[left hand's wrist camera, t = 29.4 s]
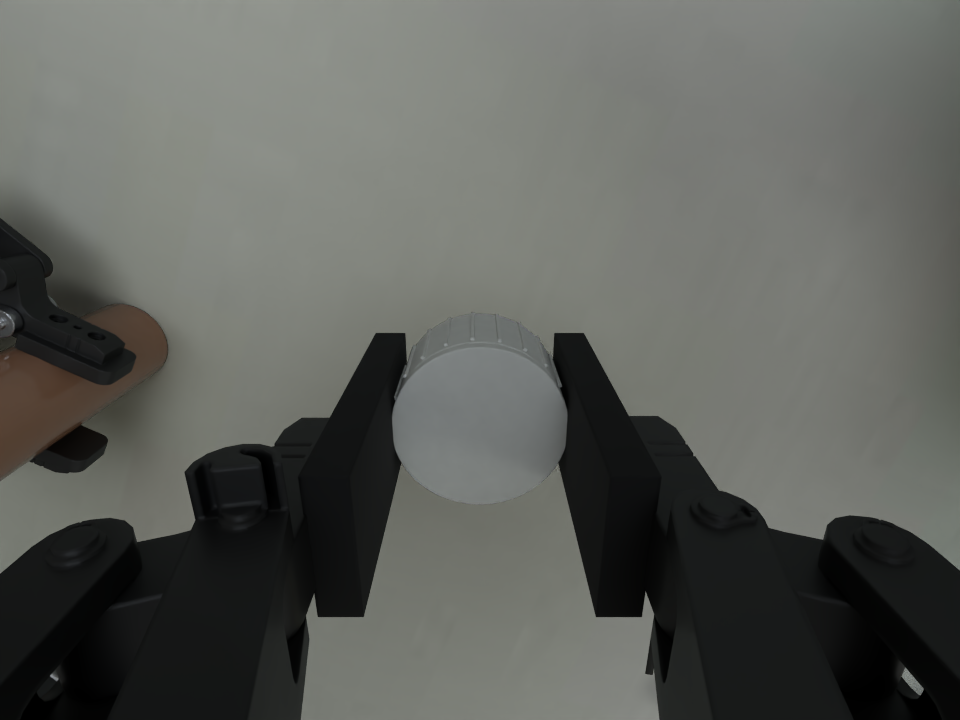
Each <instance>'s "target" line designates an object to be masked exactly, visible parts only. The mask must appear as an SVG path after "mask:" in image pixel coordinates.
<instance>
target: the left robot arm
mask: <svg viewBox="0 0 960 720" xmlns="http://www.w3.org/2000/svg"><path fill="white" fill-rule="evenodd" d="M553 361H554V364H555V367H556V370H557V373H558V376H559V379H560V381H561V384H562V387H560V389H561V392H562V395H563V398H564V401H565V404H566V407H567V411H568V417H567V433H566V446H565V450H564V452H563V454H562V457H561V459H560V461H559V462H558V463H559V468H560V472H561V476H562V480H563V484H564V488H565V492H566V496H567V500H568V504H569V508H570V513H571V517H572V521H573V525H574V529H575V533H576V537H577V541H578V545H579V549H580V553H581V558H582V562H583V566H584V570H585V574H586V578H587V582H588V586H589V590H590V594H591V599H592V603H593V607H594V611H595V615H596V617H642V612H643V605H644V598H645V591H646V593H647V596H648V598H649V601H650V604H651V607H652V609H653V612H654V620H653V627H652V633H651V640H650V646H649V653H648V659H647V666H646V673H645V674H650V675H653V670H654V673H655V682H656V692H657V701H658V710H659V719H660V720H960V570H958V569H957V568H956V567H955V566H954V565H952V564H951V563H950V562H949V561H948V560H947V559H945V558H944V557H943V556H942V555H941V554H939V553H938V552H937V551H936V550H935V549H934V548H932V547H931V546H930V545H929V544H927V543H926V542H924V541H923V540H921V539H920V538H918V537H917V536H916V535H914V534H913V533H911V532H909V531H907V530H904V529H902V528H900V527H898V526H896V525H894V524H892V523H890V522H887V521H883V520H878V519H876V518H871V517H861V516H844V517H839V518H835V519H834V520H833V521H831V522H830V523H829V524H828V525H827V528H826V532H825V535H824V539H823V540H821V539H816V538H811V537H806V536H801V535H796V534H791V533H786V532H782V531H778V530H775V529H771V528H768V526H767V524H766V522H765V519H764V518H763V517H762V515H761V514H760V513H759V511H758V510H757V509H756V508H755V507H753V506H752V505H750V504H749V503H748V502H746V501H745V500H743V499H741V498H739V497H737V496H734V495H732V494H729V493H727V492H723V491H719V490H718V489H717V487H716V486H715V484H714V483H713V481H712V480H711V479H710V477H709V476H708V474H707V473H706V471H705V470H704V468H703V467H702V465H701V464H700V462H699V461H698V460H697V458H696V457H695V456H693V452H692V451H691V449H690V448H689V446H688V445H685V441H684V439H683V438H682V436H681V435H680V433H679V432H678V430H677V429H676V428H675V427H674V426H672V425H671V424H669V423H668V422H666V421H664V420H663V419H661V418H660V417H658V416H629V415H628V414H627V412H626V410H625V408H624V406H623V404H622V403H621V401H620V399H619V397H618V395H617V393H616V392H615V390H614V388H613V386H612V384H611V382H610V381H609V379H608V377H607V375H606V373H605V371H604V370H603V368H602V366H601V364H600V362H599V360H598V358H597V357H596V355H595V353H594V351H593V349H592V347H591V346H590V344H589V342H588V340H587V338H586V336H585V335H584V333H554V350H553ZM405 365H407V357H406V338H405V333H376V334H375V336H374V338H373V339H372V341H371V343H370V345H369V347H368V349H367V350H366V352H365V354H364V356H363V358H362V360H361V361H360V363H359V365H358V367H357V369H356V371H355V372H354V374H353V376H352V378H351V380H350V382H349V383H348V385H347V387H346V389H345V391H344V393H343V395H342V396H341V398H340V400H339V402H338V404H337V406H336V407H335V409H334V411H333V413H332V415H331V417H330V418H301V419H300V420H298V421H297V422H295V423H294V424H292V425H291V426H289V427H288V428H286V429H285V430H284V431H283V432H282V434H281V435H280V436H279V438H278V439H277V441H276V442H275V446H274V447H270V446H266V445H262V444H241V445H235V446H230V447H225V448H222V449H219V450H216V451H214V452H211V453H208V454H206V455H205V456H203V457H201V458H200V459H198V460H196V461H195V462H193V463H192V464H191V465H190V466H189V468H188V469H187V470H186V471H185V476H186V481H187V485H188V489H189V494H190V498H191V502H192V507H193V511H194V515H195V523H194V525H193V527H192V529H191V530H190V531H187V532H183V533H179V534H175V535H170V536H165V537H161V538H156V539H151V540H146V541H141V542H137V540H136V537H135V533H134V530H133V527H132V526H131V525H129V524H128V523H127V522H126V521H124V520H119V519H113V518H105V519H94V520H87V521H82V522H81V523H76V524H72V525H69V526H67V527H66V528H64V529H62V530H59V531H57V532H55V533H53V534H51V535H49V536H47V537H46V538H44V539H43V540H41V541H40V542H38V543H37V544H36V545H34V546H33V547H31V548H30V549H29V550H28V551H27V552H25V553H24V554H23V555H22V556H21V557H19V558H18V559H17V560H16V561H15V562H14V563H12V564H11V565H10V566H9V567H8V568H7V569H5V570H4V571H3V572H2V573H1V574H0V720H301V711H302V702H303V693H304V684H305V674H306V665H307V656H308V647H309V633H308V627H307V620H306V614H307V611H308V608H309V606H310V603H311V600H312V597H313V595H314V593H315V600H316V607H317V614H318V617H364V613H365V609H366V605H367V601H368V597H369V593H370V589H371V585H372V581H373V577H374V572H375V568H376V564H377V560H378V556H379V552H380V548H381V544H382V540H383V536H384V532H385V527H386V523H387V519H388V515H389V511H390V507H391V503H392V499H393V495H394V491H395V487H396V482H397V478H398V474H399V470H400V466H401V461H400V459H399V457H398V455H397V453H396V451H395V448H394V441H393V426H392V411H393V407H394V404H395V401H396V400H394V396H395V393H396V390H397V387H398V384H399V381H400V378H401V375H402V372H403V369H404V366H405ZM905 667H906V668H907V670H908V671H909V672H910V673H911V674H912V675H913V677H914V678H915V679H916V680H917V681H918V682H919V683H920V685H921V686H922V687H923V688H924V690H923V693H922V694H921V695H918V694H917V693H916V692H915V691H914V690H913V689H912V688H911V687H910V686H909V685H908V684H907V683H906V682H905V680H904V679H903V678H902V677H901V676H902V674H903V671H904V669H905ZM55 670H56V673H57V675H58V678H59V679H58V681H57V682H56V683H55V684H54V685H53V687H52V688H51V689H50V690H49V691H48V692H47V693H46V694H44V695H43V696H42V697H41V698H40V697H39V696H38V694H37V691H38V689H39V688H40V687H41V686H42V685H43V684H44V682H45V681H46V680H47V679H48V678H49V677H50V675H51V674H52V673H53V672H54V671H55Z"/></svg>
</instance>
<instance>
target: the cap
mask: <svg viewBox="0 0 960 720" xmlns="http://www.w3.org/2000/svg"><path fill="white" fill-rule="evenodd" d="M560 387H562V384H561V381H560V379H559V376H558V373H557V370H556V367H555V364H554V361H553V359H552V356H551V354H548V353H547V351H546V349H545V348H544V346H543V345H542V343H541V341H540V338H539V337H538V336H535V335H534V334H533V333H531V332H530V331H529V330H528V329H527V328H525V327H524V326H522V325H521V323H520V322H518V323H517V322H515V321H513V320H511V319H508V318H505V317H502V316H499V314H495V315H493V314H483V313H477V314H475V312H471V314H467V315H461V316H458V317H454V318H451V317H450V318H448V320H447V321H444V322H442V323H440V324H439V325H437V326H436V327H434V328H433V329H428V330H427V334H425V335H424V336H423V338H422V339H421V340H420V341H419V342H418V343H417V345H416V346H415V345H413V347H412V350H411V353H410V356H409V359H408V362H407V365H405V366H404V369H403V372H402V375H401V378H400V381H399V384H398V387H397V390H396V393H395V396H394V400H396V401H395V404H394V407H393V411H392V426H393V441H394V448H395V451H396V453H397V455H398V457H399V459H400V461H401V463H402V464H403V466H404V467H405V469H406V470H407V471H408V473H409V474H410V475H411V476H412V477H413V478H414V479H415V480H416V481H417V482H418V483H419V484H421V485H422V486H423V487H425V488H426V489H428V490H429V491H431V492H433V493H435V494H436V495H439V496H441V497H443V498H446V499H449V500H452V501H456V502H460V503H466V504H478V505H480V504H493V503H500V502H504V501H507V500H511V499H514V498H516V497H519V496H521V495H523V494H525V493H527V492H529V491H530V490H532V489H533V488H535V487H536V486H538V485H539V484H540V483H541V482H542V481H543V480H545V479H546V478H547V477H548V476H549V474H550V473H551V472H552V471H553V470H554V468H555V467H556V465H557V464H558V462H559V461H560V459H561V457H562V454H563V452H564V450H565V446H566V433H567V417H568V411H567V407H566V404H565V401H564V398H563V395H562V392H561V389H560Z"/></svg>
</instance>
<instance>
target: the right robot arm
mask: <svg viewBox="0 0 960 720" xmlns="http://www.w3.org/2000/svg"><path fill="white" fill-rule="evenodd" d="M52 271H53V265H52V262H51V260H50V258H49V257H48V256H47V255H46V254H45V253H43V252H42V251H41V250H40V249H38V248H37V247H36V246H35V245H33V244H32V243H31V242H30V241H28V240H27V239H26V238H25V237H23V236H22V235H21V234H20V233H18V232H17V231H16V230H15V229H13V228H12V227H11V226H9V225H8V224H7V223H6V222H4V221H3V220H2V219H1V218H0V337H2V338H5V337H9V336H13V337H16V338H17V341H16V345H15V348H16V349H18V350H20V351H23V352H25V353H27V354H29V355H32V356H34V357H37V358H39V359H41V360H43V361H45V362H48V363H50V364H52V365H54V366H57V367H59V368H61V369H63V370H66V371H68V372H70V373H72V374H75V375H77V376H79V377H82V378H84V379H86V380H88V381H91V382H93V383H95V384H99V385H111V384H113V383H115V382H116V381H118V380H119V379H121V378H122V377H124V376H125V375H127V374H129V373H130V372H131V371H132V369H133V366H134V363H135V360H136V355H135V353H133V352H132V351H130V350H128V349H126V348H124V347H125V344H126V343H124V342H123V341H122V340H121V339H120V338H119V337H118V336H117V335H115V334H113V333H111V332H109V331H107V330H105V329H101V328H100V327H98V326H96V325H92V324H91V323H89V322H87V321H85V320H83V319H81V318H78V317H76V316H74V315H72V314H70V313H68V312H65V311H63V310H61V309H59V308H58V306H57V304H56V302H55V301H54V299H53V298H51V297H50V296H49V295H47V291H46V284H45V278H46V277H48V276H50V275H51V273H52ZM107 443H108V439H107V437H106V436H104V435H102V434H100V433H98V432H95V431H93V430H91V429H88V428H86V427H84V426H81V425H80V426H79V427H77V428H76V429H74V430H73V431H72V432H70V433H69V434H67V435H66V436H64V437H63V438H62V439H60V440H59V441H57V442H56V443H54V444H53V445H52V446H50V447H49V448H47V449H46V450H44V451H43V452H42V453H40V454H39V455H37V456H36V457H34V458H33V459H32V460H30V462H34V463H35V464H37V465H39V466H44V468H47V469H49V470H52V471H54V472H59V473H69V472H81V471H83V470H85V469H86V468H87V467H89V466H90V465H91V464H92V463H93V462H95V461H96V460H97V459H98V458H100V457H101V456H102V455H103V454H104V452H105V449H106V446H107ZM58 679H59V678H58V675H57V673H56V670H55V671H54V672H53V673H52V674H51V675H50V677H49V678H48V679H47V680H46V681H45V682H44V684H43V685H42V686H41V687H40V688H39V689H38V691H37V694H38V696H39V697H40V698H41V697H42V696H43V695H44V694H46V693H47V692H48V691H49V690H50V689H51V688H52V687H53V685H54V684H55V683H56V682H57V681H58Z"/></svg>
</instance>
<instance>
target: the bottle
mask: <svg viewBox="0 0 960 720" xmlns="http://www.w3.org/2000/svg"><path fill="white" fill-rule="evenodd" d="M79 318H81V319H83V320H85V321H87V322H89V323H91V324H92V325H96V326H98V327H100V328H101V329H105V330H107V331H109V332H111V333H113V334H115V335H117V336H118V337H119V338H120V339H121V340H122V341H123V342H124V343H126V344H125V347H124V348H126V349H128V350H130V351H132V352H133V353H135V355H136V360H135V363H134V366H133V369H132V371H131V372H130V373H129V374H127V375H125V376H124V377H122V378H121V379H119V380H118V381H116V382H115V383H113V384H111V385H99V384H95V383H93V382H91V381H88V380H86V379H84V378H82V377H79V376H77V375H75V374H72V373H70V372H68V371H66V370H63V369H61V368H59V367H57V366H54V365H52V364H50V363H48V362H45V361H43V360H41V359H39V358H37V357H34V356H32V355H29V354H27V353H25V352H23V351H20V350H18V349H16V348H15V345H14V346H12V347H10V348H7V349H5V350H3V351H1V352H0V481H2V480H3V479H4V478H6V477H7V476H9V475H10V474H12V473H13V472H14V471H16V470H17V469H19V468H20V467H22V466H23V465H24V464H26V463H27V462H29V461H30V460H32V459H33V458H34V457H36V456H37V455H39V454H40V453H42V452H43V451H44V450H46V449H47V448H49V447H50V446H52V445H53V444H54V443H56V442H57V441H59V440H60V439H62V438H63V437H64V436H66V435H67V434H69V433H70V432H72V431H73V430H74V429H76V428H77V427H79V426H80V425H82V424H83V423H84V422H86V421H87V420H89V419H90V418H92V417H93V416H94V415H96V414H97V413H99V412H100V411H102V410H103V409H104V408H106V407H107V406H109V405H110V404H112V403H113V402H114V401H116V400H117V399H119V398H120V397H121V396H123V395H124V394H126V393H127V392H129V391H130V390H131V389H133V388H134V387H136V386H137V385H139V384H140V383H141V382H143V381H144V380H146V379H147V378H149V377H150V376H151V375H153V374H154V373H156V372H157V371H158V370H159V369H160V368H161V367H162V366H163V364H164V363H165V360H166V357H167V351H168V347H167V340H166V337H165V335H164V333H163V331H162V329H161V327H160V326H159V325H158V323H157V322H156V321H155V320H154V319H153V318H152V317H151V316H150V315H148V314H147V313H145V312H144V311H142V310H140V309H138V308H136V307H133V306H129V305H124V304H112V305H107V306H105V307H102V308H100V309H98V310H95V311H93V312H91V313H88V314H86V315H84V316H81V317H79Z"/></svg>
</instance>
